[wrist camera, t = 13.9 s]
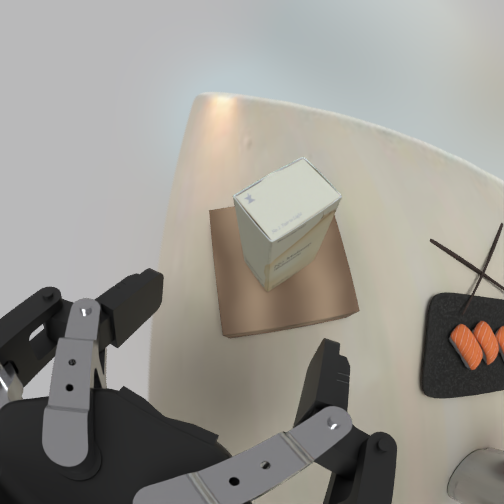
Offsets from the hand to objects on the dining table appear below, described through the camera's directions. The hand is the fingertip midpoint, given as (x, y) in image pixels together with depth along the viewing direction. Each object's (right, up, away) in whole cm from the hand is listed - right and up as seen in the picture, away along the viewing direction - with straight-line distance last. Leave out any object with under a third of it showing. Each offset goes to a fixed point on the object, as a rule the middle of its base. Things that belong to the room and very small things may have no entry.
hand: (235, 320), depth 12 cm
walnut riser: (+4, +1, +21) cm, 21 cm away
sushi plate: (+38, -4, +18) cm, 43 cm away
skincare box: (+4, +2, +17) cm, 17 cm away
